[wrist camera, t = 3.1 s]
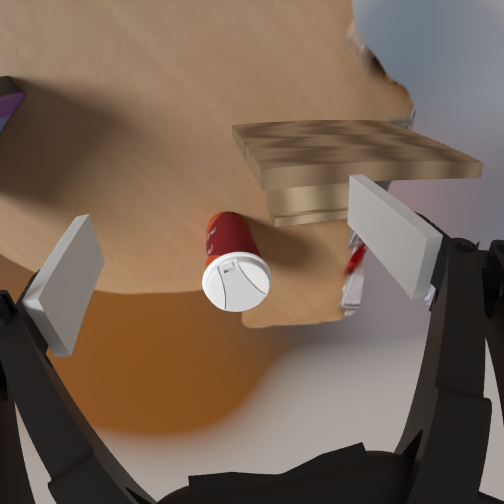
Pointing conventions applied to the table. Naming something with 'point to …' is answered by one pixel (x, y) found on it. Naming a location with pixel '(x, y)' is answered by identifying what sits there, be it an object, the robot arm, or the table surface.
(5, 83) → the cereal box
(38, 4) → the table surface
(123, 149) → the table surface
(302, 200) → the board
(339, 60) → the table surface
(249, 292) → the paper cup
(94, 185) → the table surface
